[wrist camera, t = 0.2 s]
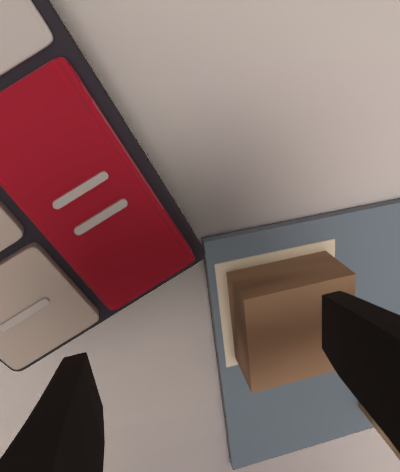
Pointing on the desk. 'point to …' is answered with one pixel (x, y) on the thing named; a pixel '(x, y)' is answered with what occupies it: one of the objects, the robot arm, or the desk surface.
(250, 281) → the walnut slab
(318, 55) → the desk surface
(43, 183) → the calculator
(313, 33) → the desk surface
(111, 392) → the desk surface
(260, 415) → the board
